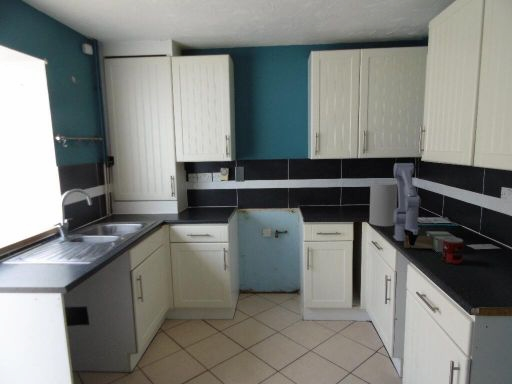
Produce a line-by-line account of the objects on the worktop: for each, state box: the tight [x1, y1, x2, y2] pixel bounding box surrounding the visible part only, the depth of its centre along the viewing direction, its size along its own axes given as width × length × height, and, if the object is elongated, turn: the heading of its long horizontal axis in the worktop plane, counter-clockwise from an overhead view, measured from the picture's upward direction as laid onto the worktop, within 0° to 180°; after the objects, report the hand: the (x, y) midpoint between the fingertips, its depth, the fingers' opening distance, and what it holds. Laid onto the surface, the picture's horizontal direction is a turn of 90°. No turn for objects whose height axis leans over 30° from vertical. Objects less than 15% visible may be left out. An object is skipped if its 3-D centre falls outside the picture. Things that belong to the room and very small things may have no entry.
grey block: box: [425, 230, 456, 253], centre depth 171 cm, size 14×11×8 cm
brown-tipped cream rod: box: [403, 235, 433, 249], centre depth 173 cm, size 2×14×6 cm, turn 82°
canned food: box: [441, 236, 464, 265], centre depth 152 cm, size 8×8×11 cm
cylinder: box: [369, 182, 398, 227], centre depth 225 cm, size 17×17×28 cm
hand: (410, 244), depth 173 cm, fingers open, 3 cm apart
